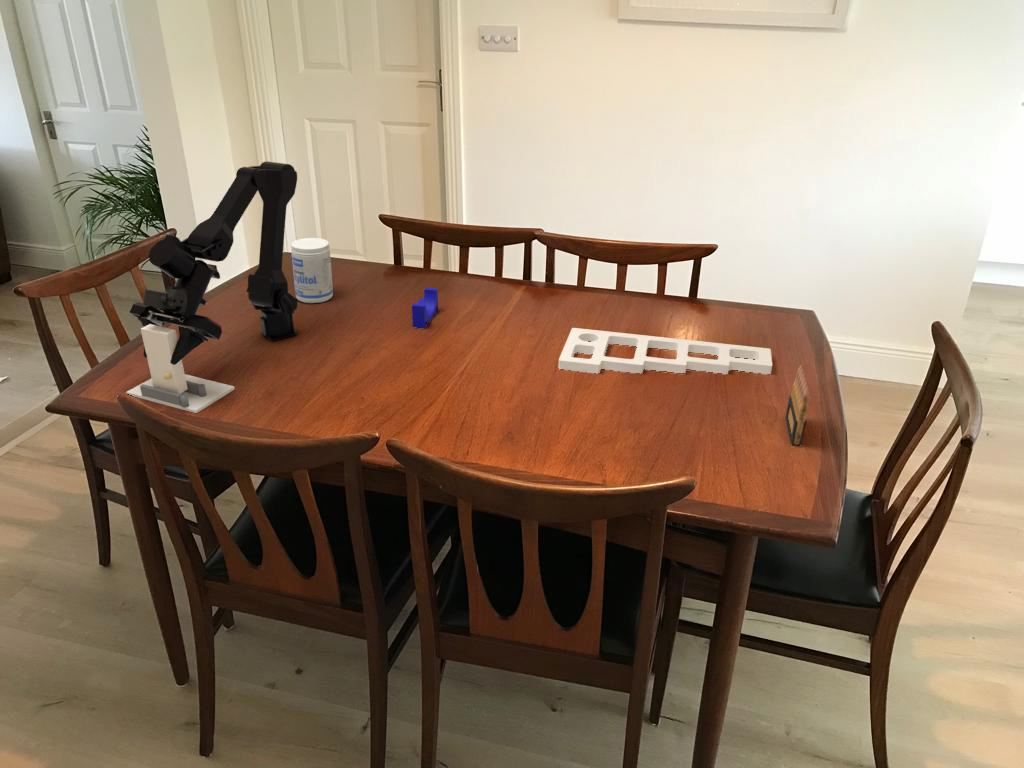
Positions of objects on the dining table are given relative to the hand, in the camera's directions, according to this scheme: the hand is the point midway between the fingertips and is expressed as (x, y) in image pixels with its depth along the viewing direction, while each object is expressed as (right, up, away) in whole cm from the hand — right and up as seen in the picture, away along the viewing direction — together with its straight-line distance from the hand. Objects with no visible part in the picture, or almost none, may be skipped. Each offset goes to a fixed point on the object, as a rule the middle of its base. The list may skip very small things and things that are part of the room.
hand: (159, 360), depth 158 cm
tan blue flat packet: (+122, -14, -4) cm, 123 cm away
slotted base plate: (+1, -6, +7) cm, 10 cm away
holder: (+103, -1, +22) cm, 105 cm away
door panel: (0, -5, +4) cm, 7 cm away
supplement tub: (+18, +18, +53) cm, 59 cm away
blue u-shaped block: (+47, +11, +42) cm, 64 cm away
